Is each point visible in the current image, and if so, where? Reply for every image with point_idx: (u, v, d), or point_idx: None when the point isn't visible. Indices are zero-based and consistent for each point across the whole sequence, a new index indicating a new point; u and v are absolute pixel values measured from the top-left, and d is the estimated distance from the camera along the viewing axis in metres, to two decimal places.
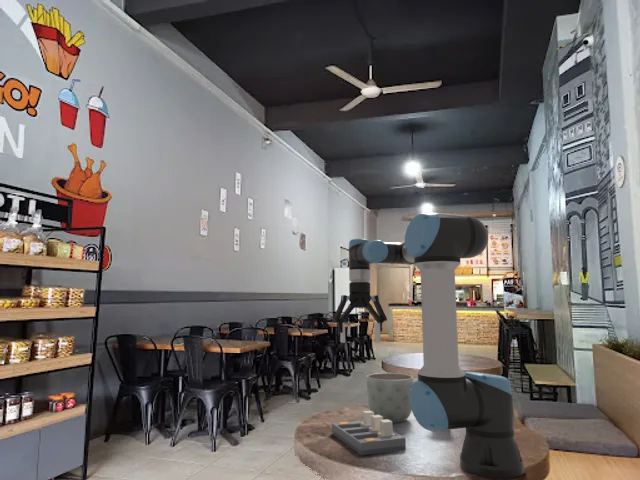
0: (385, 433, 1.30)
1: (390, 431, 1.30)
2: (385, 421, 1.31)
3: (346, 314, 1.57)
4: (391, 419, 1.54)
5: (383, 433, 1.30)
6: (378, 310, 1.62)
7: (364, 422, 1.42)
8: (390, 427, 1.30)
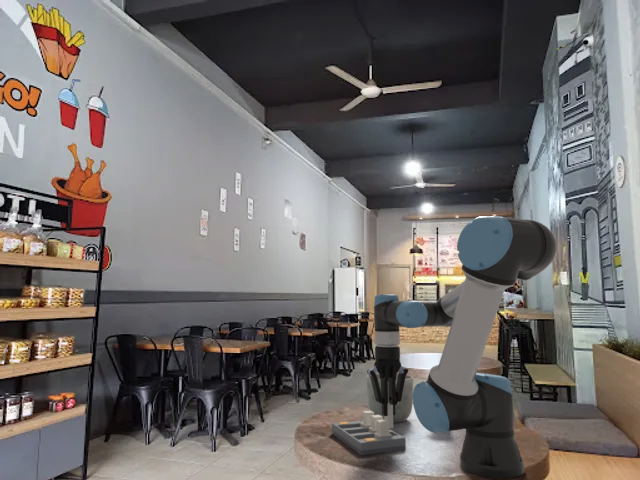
0: (382, 433, 1.29)
1: (387, 431, 1.30)
2: (382, 421, 1.31)
3: (385, 391, 1.32)
4: None
5: (380, 433, 1.29)
6: (398, 385, 1.35)
7: (364, 422, 1.42)
8: (387, 427, 1.30)
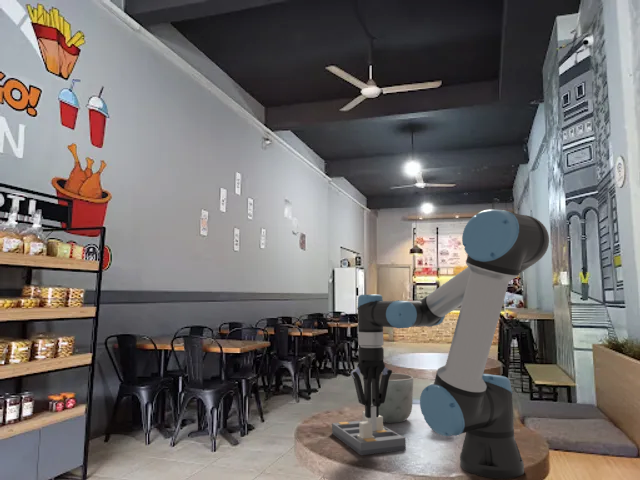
0: (364, 435, 1.27)
1: (369, 433, 1.28)
2: (365, 423, 1.29)
3: (369, 393, 1.30)
4: (391, 419, 1.54)
5: (362, 435, 1.28)
6: (382, 387, 1.33)
7: None
8: (370, 429, 1.28)
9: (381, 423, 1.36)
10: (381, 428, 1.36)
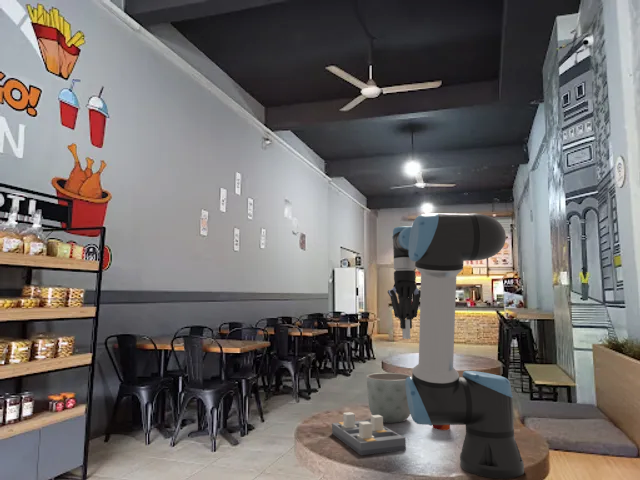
0: (364, 435, 1.27)
1: (369, 433, 1.28)
2: (364, 423, 1.29)
3: (403, 308, 1.54)
4: (391, 419, 1.54)
5: (362, 435, 1.28)
6: (414, 304, 1.57)
7: (345, 424, 1.40)
8: (369, 429, 1.28)
9: (381, 423, 1.36)
10: (381, 428, 1.36)
